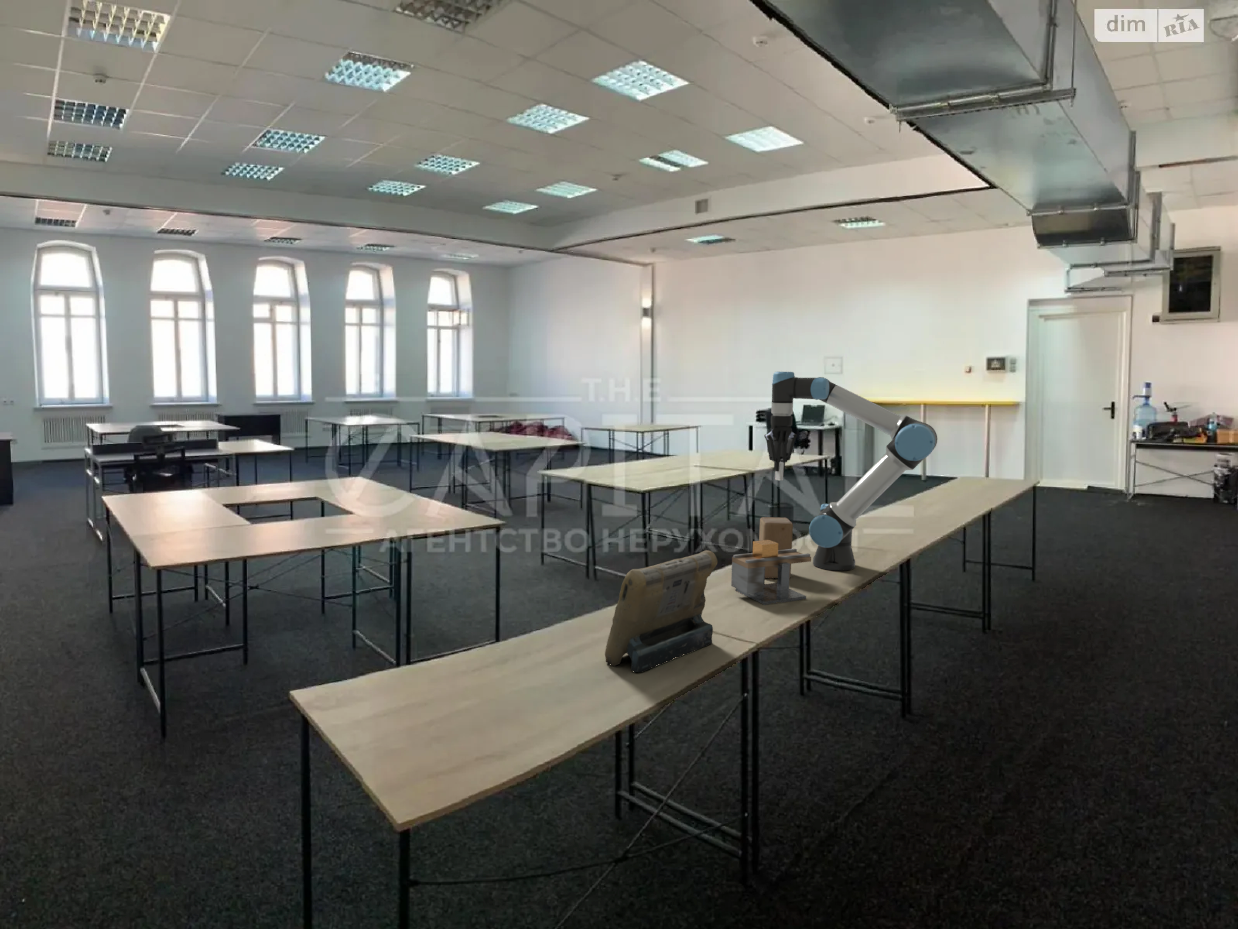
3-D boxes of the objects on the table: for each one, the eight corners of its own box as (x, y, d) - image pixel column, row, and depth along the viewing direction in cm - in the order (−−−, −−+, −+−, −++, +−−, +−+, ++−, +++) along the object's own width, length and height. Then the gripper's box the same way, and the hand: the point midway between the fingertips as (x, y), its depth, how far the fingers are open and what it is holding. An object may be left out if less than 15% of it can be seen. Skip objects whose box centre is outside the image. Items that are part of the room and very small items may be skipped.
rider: (768, 555, 245) (768, 539, 244) (777, 558, 240) (778, 543, 239) (752, 556, 242) (753, 541, 242) (761, 560, 237) (762, 544, 237)
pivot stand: (776, 585, 254) (777, 550, 253) (806, 599, 240) (807, 562, 238) (735, 590, 248) (736, 554, 246) (763, 604, 233) (765, 566, 232)
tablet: (676, 629, 210) (678, 541, 207) (719, 641, 201) (722, 549, 198) (600, 664, 185) (601, 564, 182) (645, 679, 176) (647, 575, 173)
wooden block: (791, 579, 262) (793, 522, 259) (762, 579, 262) (764, 522, 260) (785, 571, 272) (787, 517, 269) (757, 571, 272) (759, 516, 269)
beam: (792, 578, 252) (793, 548, 251) (809, 585, 244) (811, 554, 243) (731, 586, 243) (732, 554, 241) (747, 593, 234) (748, 561, 233)
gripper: (790, 414, 277) (787, 477, 280) (760, 414, 272) (757, 479, 275) (803, 415, 270) (800, 480, 273) (772, 415, 265) (770, 482, 268)
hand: (778, 479), depth 274 cm, fingers closed
